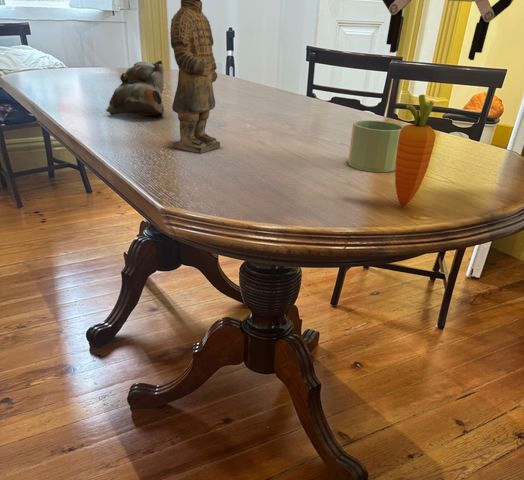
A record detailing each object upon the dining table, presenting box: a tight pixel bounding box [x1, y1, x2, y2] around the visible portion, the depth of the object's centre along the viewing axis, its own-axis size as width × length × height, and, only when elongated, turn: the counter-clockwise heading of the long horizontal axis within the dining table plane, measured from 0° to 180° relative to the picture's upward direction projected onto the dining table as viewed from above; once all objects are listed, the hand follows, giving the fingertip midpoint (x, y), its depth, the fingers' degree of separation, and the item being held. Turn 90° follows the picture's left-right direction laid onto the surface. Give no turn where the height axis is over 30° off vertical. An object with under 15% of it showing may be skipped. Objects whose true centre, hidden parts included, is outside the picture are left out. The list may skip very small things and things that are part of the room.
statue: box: [169, 0, 221, 154], centre depth 92 cm, size 10×8×30 cm
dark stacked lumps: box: [105, 60, 165, 118], centre depth 122 cm, size 15×12×14 cm
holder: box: [347, 119, 404, 173], centre depth 94 cm, size 9×9×7 cm
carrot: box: [394, 94, 437, 208], centre depth 72 cm, size 5×5×15 cm
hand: (431, 55), depth 65 cm, fingers open, 9 cm apart
